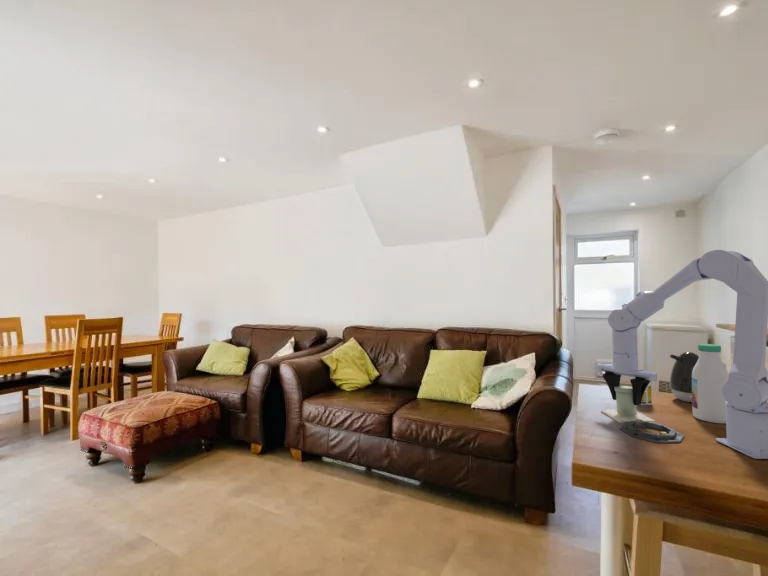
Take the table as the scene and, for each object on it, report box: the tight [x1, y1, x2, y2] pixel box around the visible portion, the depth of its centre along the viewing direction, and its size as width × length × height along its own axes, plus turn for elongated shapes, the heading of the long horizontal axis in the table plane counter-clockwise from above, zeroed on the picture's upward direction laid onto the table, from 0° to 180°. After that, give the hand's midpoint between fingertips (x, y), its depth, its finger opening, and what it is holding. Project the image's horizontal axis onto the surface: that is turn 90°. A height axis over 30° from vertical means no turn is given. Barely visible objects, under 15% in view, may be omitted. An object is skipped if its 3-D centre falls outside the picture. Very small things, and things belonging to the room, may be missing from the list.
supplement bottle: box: [632, 377, 653, 406], centre depth 112 cm, size 5×5×8 cm
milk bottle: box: [691, 343, 729, 424], centre depth 98 cm, size 8×8×20 cm
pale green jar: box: [614, 385, 638, 416], centre depth 100 cm, size 6×5×7 cm
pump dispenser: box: [669, 351, 699, 404], centre depth 113 cm, size 10×10×15 cm
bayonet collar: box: [619, 419, 685, 444], centre depth 89 cm, size 12×12×2 cm
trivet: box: [600, 409, 656, 424], centre depth 100 cm, size 9×9×1 cm
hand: (626, 401), depth 100 cm, fingers closed on pale green jar, 5 cm apart
